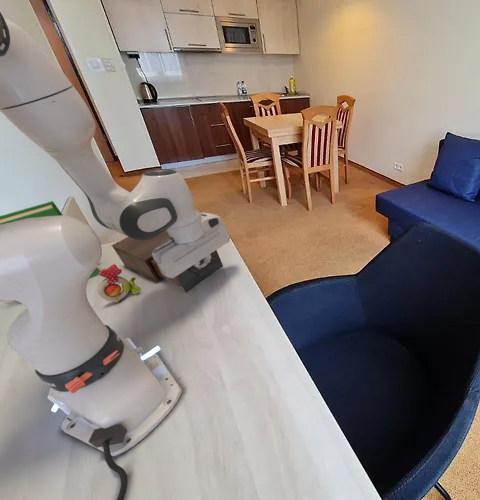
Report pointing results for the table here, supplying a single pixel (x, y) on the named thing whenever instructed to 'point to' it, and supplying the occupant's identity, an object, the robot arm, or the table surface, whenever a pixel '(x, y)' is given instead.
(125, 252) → the cabinet
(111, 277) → the bird rattle
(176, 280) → the drawer
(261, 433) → the table surface
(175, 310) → the table surface
